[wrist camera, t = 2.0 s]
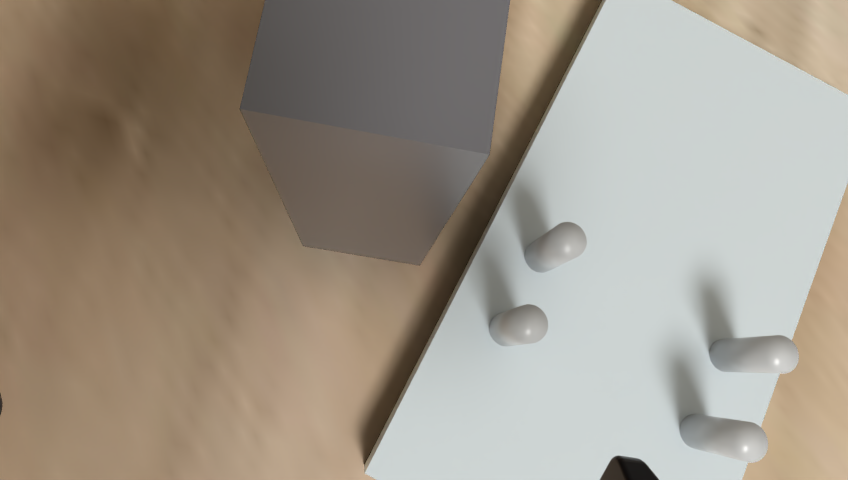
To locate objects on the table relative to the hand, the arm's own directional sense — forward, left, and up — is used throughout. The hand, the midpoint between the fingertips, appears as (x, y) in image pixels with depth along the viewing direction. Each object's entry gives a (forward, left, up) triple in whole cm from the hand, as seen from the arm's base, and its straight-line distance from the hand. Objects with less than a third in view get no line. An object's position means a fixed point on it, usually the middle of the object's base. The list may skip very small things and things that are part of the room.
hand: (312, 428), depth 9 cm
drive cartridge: (+3, +7, -13) cm, 16 cm away
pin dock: (+12, +1, -13) cm, 18 cm away
